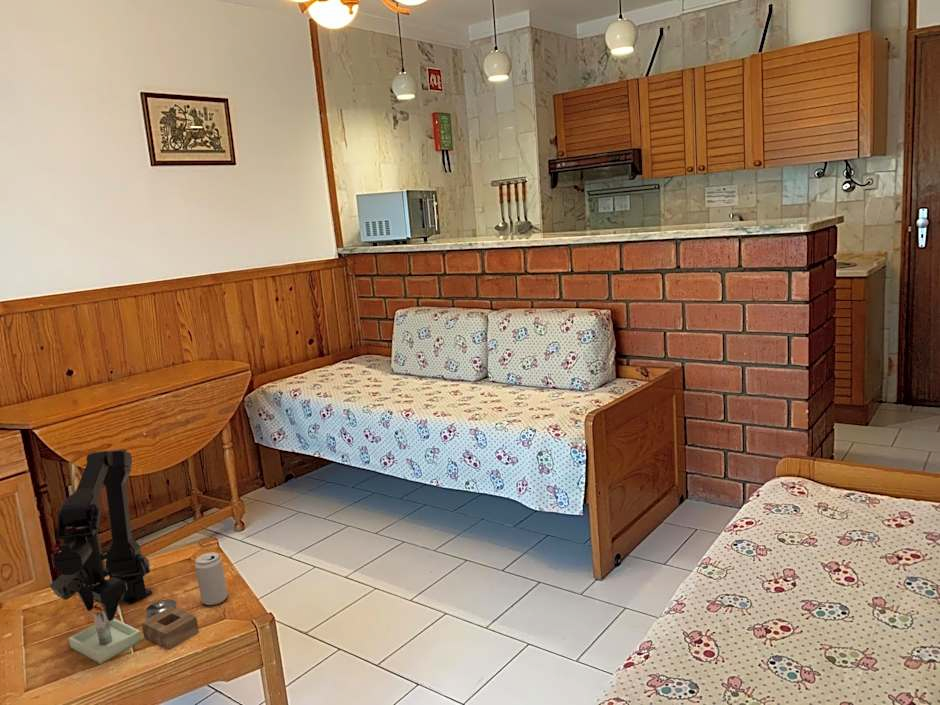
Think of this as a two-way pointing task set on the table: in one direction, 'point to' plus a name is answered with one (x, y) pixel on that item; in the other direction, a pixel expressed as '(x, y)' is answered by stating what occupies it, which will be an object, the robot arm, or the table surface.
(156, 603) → the dark grey knobbed lid
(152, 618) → the block
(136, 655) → the table surface
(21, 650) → the table surface
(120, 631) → the tray
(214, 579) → the beverage can
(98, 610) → the pin
